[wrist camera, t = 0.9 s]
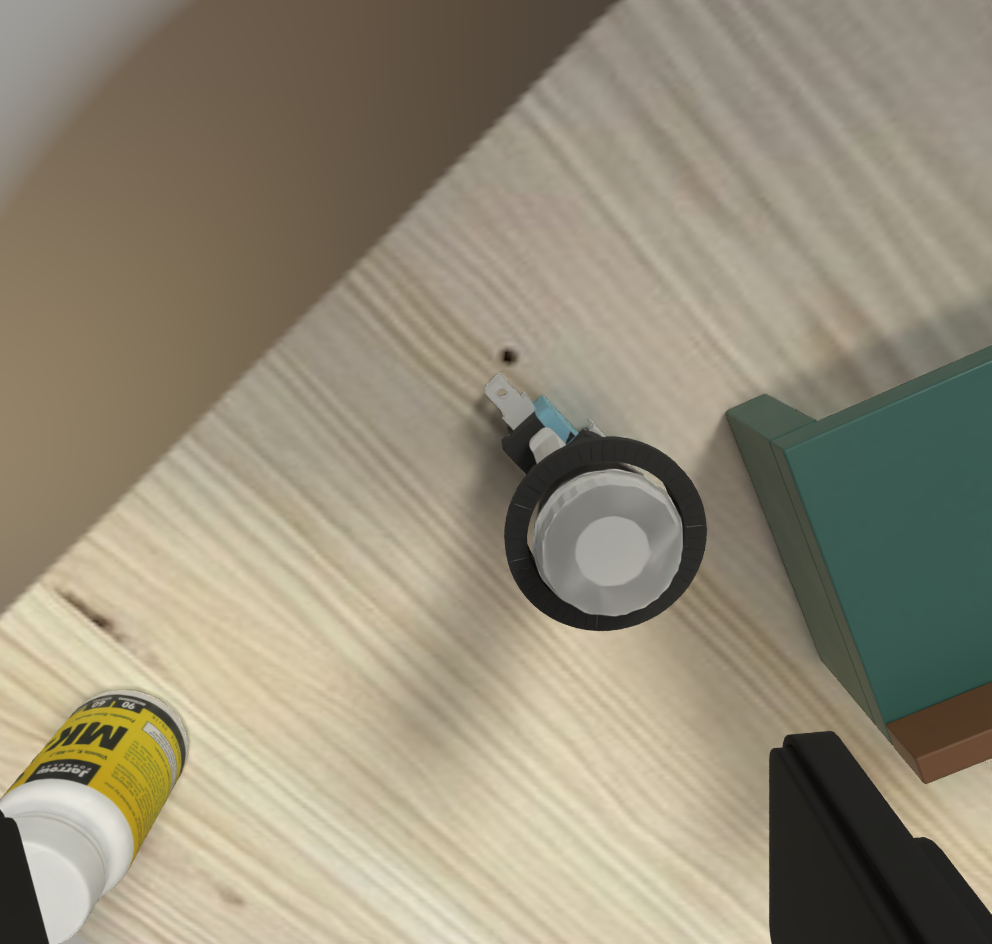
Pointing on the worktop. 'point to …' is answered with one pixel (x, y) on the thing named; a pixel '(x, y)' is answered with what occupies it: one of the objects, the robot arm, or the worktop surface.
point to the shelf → (892, 550)
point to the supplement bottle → (94, 801)
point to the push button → (595, 519)
